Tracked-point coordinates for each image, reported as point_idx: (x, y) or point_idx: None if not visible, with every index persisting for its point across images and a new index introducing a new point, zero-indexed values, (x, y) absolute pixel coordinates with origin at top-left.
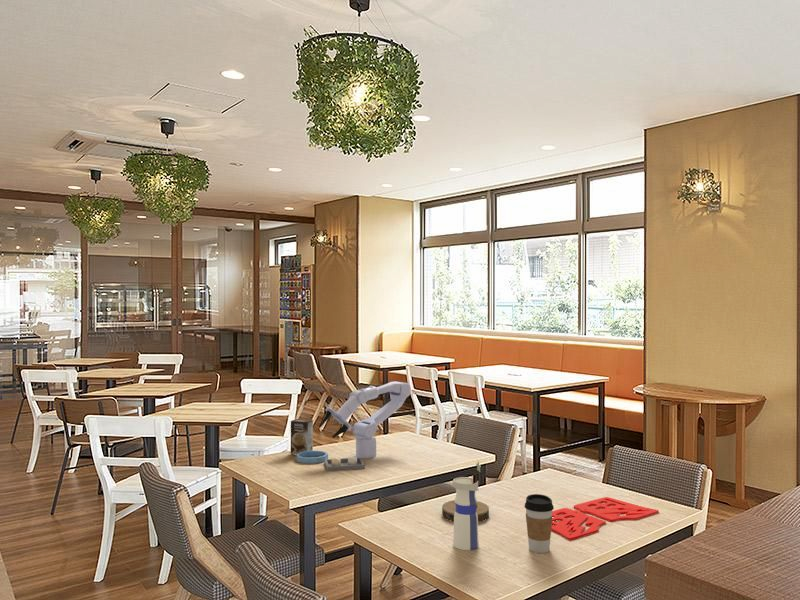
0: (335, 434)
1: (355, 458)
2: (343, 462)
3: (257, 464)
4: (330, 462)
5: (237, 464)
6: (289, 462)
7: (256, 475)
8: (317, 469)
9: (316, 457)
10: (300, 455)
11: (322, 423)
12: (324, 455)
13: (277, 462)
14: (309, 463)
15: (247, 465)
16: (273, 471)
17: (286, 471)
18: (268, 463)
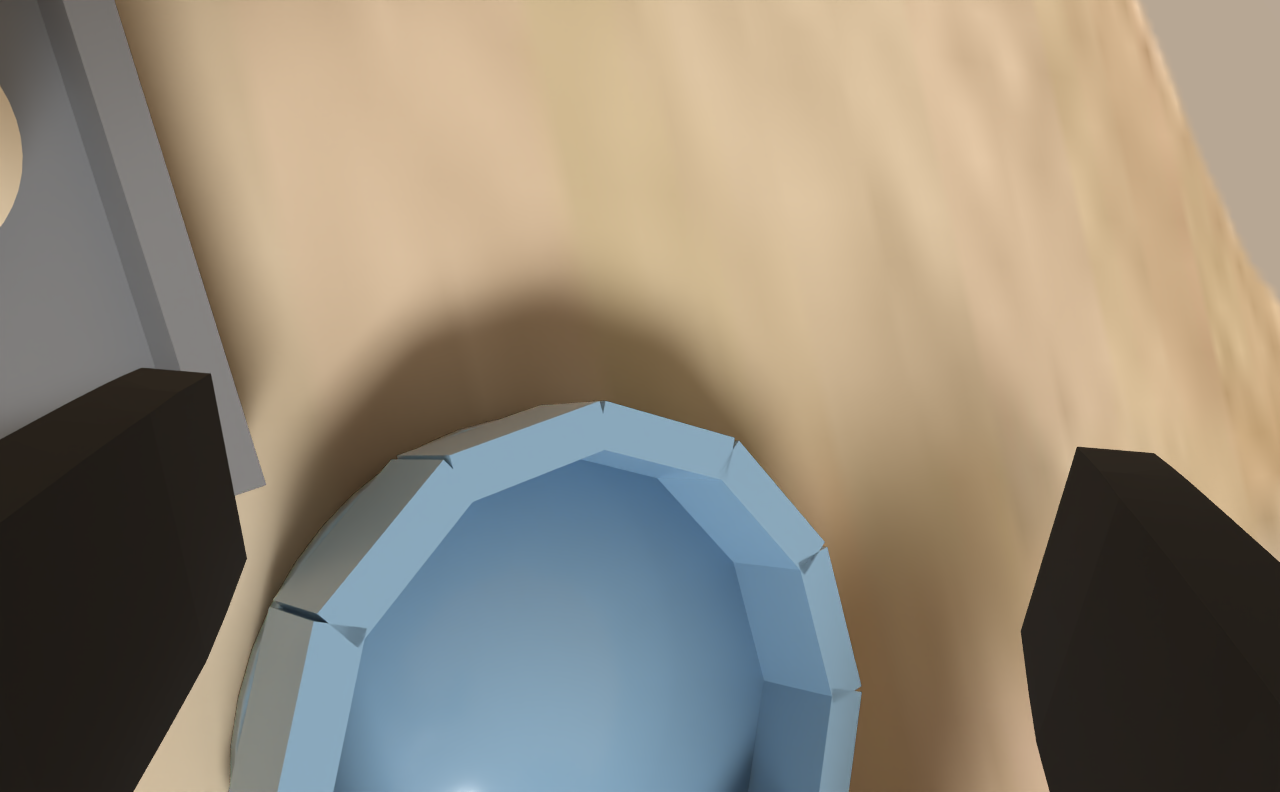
0: (72, 424)
1: None
2: None
3: (1108, 394)
4: None
5: (1237, 380)
6: (840, 546)
7: None
8: (301, 73)
9: (477, 487)
10: (793, 758)
11: (1154, 504)
12: (335, 707)
13: (965, 521)
14: (540, 406)
15: (1167, 342)
16: (898, 33)
17: (758, 7)
18: (1033, 454)
